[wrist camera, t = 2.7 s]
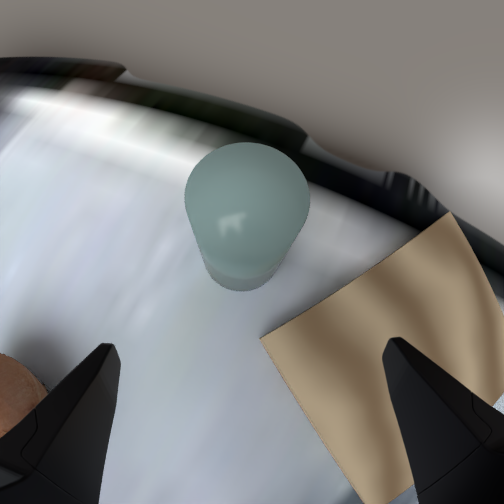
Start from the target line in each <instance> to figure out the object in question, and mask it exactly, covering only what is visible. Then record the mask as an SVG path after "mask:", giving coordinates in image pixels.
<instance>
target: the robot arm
mask: <svg viewBox="0 0 504 504" xmlns="http://www.w3.org/2000/svg"><path fill="white" fill-rule="evenodd" d="M382 362H383V367H384V371H385V376H386V381H387V386H388V391H389V395H390V399H391V402H392V406H393V409H394V412H395V415H396V419H397V422H398V425H399V429H400V432H401V435H402V439H403V442H404V446H405V450H406V453H407V457H408V461H409V464H410V468H411V472H412V476H413V480H414V484H415V488H416V493H417V498H418V502H419V504H504V414H502V413H501V412H499V411H498V410H496V409H495V408H493V407H492V406H490V405H489V404H488V403H486V402H485V401H484V400H482V399H481V398H480V397H478V396H477V395H476V394H475V393H473V392H471V390H469V389H468V388H467V387H466V386H464V385H463V384H462V383H460V382H459V381H458V380H457V379H455V378H454V377H453V376H452V375H450V374H449V373H448V372H446V371H445V370H444V369H442V368H441V367H440V366H439V365H437V364H436V363H435V362H433V361H432V360H431V359H430V358H428V357H427V356H426V355H424V354H423V353H422V352H420V351H419V350H418V349H416V348H415V347H414V346H413V345H411V344H410V343H409V342H407V341H406V340H405V339H403V338H402V337H392V338H390V339H389V340H388V342H387V344H386V347H385V349H384V351H383V354H382ZM120 368H121V362H120V358H119V356H118V353H117V350H116V348H115V346H114V344H112V343H101V344H100V345H99V346H98V347H97V348H96V349H94V350H93V351H92V352H91V353H90V354H89V355H88V356H87V357H86V358H85V359H84V360H83V361H82V362H81V363H80V364H79V365H78V366H76V367H75V368H74V369H73V370H72V371H71V372H70V373H69V374H68V375H67V376H66V377H65V378H64V379H63V380H62V381H61V382H60V383H59V384H58V385H57V386H56V387H55V388H54V389H53V390H52V391H51V392H50V393H48V394H47V395H46V396H45V397H44V398H43V399H42V400H41V401H40V402H39V403H38V404H37V405H36V406H35V408H33V409H32V410H31V411H30V412H29V413H28V414H27V415H26V416H25V417H24V418H23V419H22V420H21V421H20V422H19V423H18V424H16V425H15V426H14V427H13V428H12V429H11V430H9V431H8V432H7V433H6V434H5V435H3V436H2V437H1V438H0V504H98V503H99V496H100V489H101V483H102V476H103V470H104V464H105V459H106V453H107V448H108V443H109V438H110V433H111V428H112V423H113V418H114V414H115V409H116V402H117V393H118V384H119V376H120Z"/></svg>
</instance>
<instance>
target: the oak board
mask: <svg viewBox="0 0 504 504" xmlns="http://www.w3.org/2000/svg"><path fill="white" fill-rule="evenodd" d="M392 337H402V338H403V339H405V340H406V341H407V342H409V343H410V344H411V345H413V346H414V347H415V348H416V349H418V350H419V351H420V352H422V353H423V354H424V355H426V356H427V357H428V358H430V359H431V360H432V361H433V362H435V363H436V364H437V365H439V366H440V367H441V368H442V369H444V370H445V371H446V372H448V373H449V374H450V375H452V376H453V377H454V378H455V379H457V380H458V381H459V382H460V383H462V384H463V385H464V386H466V387H467V388H468V389H469V390H471V392H473V393H475V394H476V395H477V396H478V397H480V398H481V399H482V400H484V401H485V402H486V403H488V404H489V405H490V406H493V405H494V404H495V403H496V401H497V400H498V399H499V398H500V396H501V395H502V394H503V393H504V316H503V313H502V311H501V308H500V306H499V304H498V301H497V299H496V297H495V295H494V292H493V290H492V288H491V286H490V284H489V282H488V280H487V278H486V275H485V273H484V271H483V269H482V267H481V265H480V263H479V262H478V260H477V258H476V256H475V254H474V252H473V250H472V248H471V246H470V245H469V243H468V241H467V239H466V238H465V236H464V234H463V232H462V231H461V229H460V227H459V225H458V224H457V222H456V220H455V219H454V217H453V215H452V214H451V212H448V213H447V214H445V215H444V216H442V217H441V218H440V219H438V220H437V221H436V222H434V223H433V224H432V225H430V226H429V227H428V228H426V229H425V230H424V231H422V232H421V233H420V234H418V235H417V236H416V237H414V238H413V239H412V240H410V241H409V242H407V243H406V244H405V245H403V246H402V247H401V248H399V249H398V250H396V251H395V252H394V253H392V254H391V255H389V256H388V257H386V258H385V259H384V260H382V261H381V262H379V263H378V264H376V265H375V266H373V267H372V268H371V269H369V270H368V271H366V272H365V273H363V274H362V275H360V276H359V277H357V278H356V279H354V280H353V281H351V282H350V283H348V284H347V285H345V286H344V287H342V288H341V289H339V290H338V291H336V292H334V293H333V294H331V295H330V296H328V297H327V298H325V299H324V300H322V301H320V302H319V303H317V304H316V305H314V306H312V307H311V308H309V309H308V310H306V311H304V312H303V313H301V314H300V315H298V316H296V317H295V318H293V319H291V320H290V321H288V322H286V323H285V324H283V325H281V326H280V327H278V328H276V329H275V330H273V331H271V332H269V333H268V334H266V335H264V336H263V337H261V338H259V339H260V341H261V343H262V344H263V346H264V348H265V349H266V351H267V353H268V354H269V356H270V358H271V359H272V361H273V363H274V364H275V366H276V368H277V369H278V371H279V373H280V374H281V376H282V378H283V379H284V381H285V382H286V384H287V386H288V387H289V389H290V391H291V392H292V394H293V395H294V397H295V399H296V400H297V402H298V404H299V405H300V407H301V408H302V410H303V412H304V413H305V415H306V416H307V418H308V419H309V421H310V423H311V424H312V426H313V427H314V429H315V430H316V432H317V434H318V435H319V437H320V438H321V440H322V441H323V443H324V444H325V446H326V448H327V449H328V451H329V452H330V454H331V455H332V457H333V458H334V460H335V461H336V463H337V464H338V466H339V467H340V469H341V470H342V472H343V473H344V475H345V476H346V478H347V479H348V481H349V482H350V484H351V485H352V487H353V488H354V490H355V491H356V493H357V494H358V496H359V497H360V499H361V500H362V502H363V503H364V504H388V503H389V502H391V501H392V500H393V499H395V498H396V497H397V496H399V495H400V494H401V493H403V492H404V491H405V490H407V489H408V488H409V487H410V486H412V485H413V484H414V480H413V476H412V472H411V468H410V464H409V461H408V457H407V453H406V450H405V446H404V442H403V439H402V435H401V432H400V429H399V425H398V422H397V419H396V415H395V412H394V409H393V406H392V402H391V399H390V395H389V391H388V386H387V381H386V376H385V371H384V367H383V362H382V354H383V351H384V349H385V347H386V344H387V342H388V340H389V339H390V338H392Z"/></svg>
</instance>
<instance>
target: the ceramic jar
mask: <svg viewBox="0 0 504 504" xmlns="http://www.w3.org/2000/svg"><path fill="white" fill-rule="evenodd" d="M185 207H186V211H187V215H188V218H189V221H190V224H191V227H192V229H193V232H194V235H195V238H196V241H197V244H198V247H199V249H200V252H201V255H202V258H203V261H204V263H205V266H206V269H207V271H208V273H209V274H210V276H211V277H212V278H213V279H214V280H215V281H216V282H217V283H218V284H219V285H221V286H223V287H225V288H227V289H230V290H233V291H250V290H254V289H256V288H259V287H261V286H262V285H264V284H265V283H266V282H267V281H268V280H269V279H270V278H271V277H272V276H273V274H274V273H275V271H276V269H277V268H278V266H279V264H280V263H281V261H282V260H283V258H284V256H285V255H286V253H287V251H288V250H289V248H290V247H291V245H292V243H293V242H294V240H295V238H296V237H297V235H298V233H299V232H300V230H301V228H302V227H303V225H304V223H305V221H306V219H307V216H308V212H309V207H310V193H309V188H308V184H307V181H306V179H305V177H304V175H303V173H302V172H301V170H300V169H299V167H298V166H297V165H296V164H295V163H294V162H293V161H292V160H291V159H290V158H289V157H288V156H286V155H285V154H283V153H282V152H280V151H278V150H276V149H274V148H272V147H269V146H266V145H263V144H257V143H235V144H230V145H226V146H223V147H221V148H218V149H216V150H214V151H212V152H211V153H209V154H208V155H206V156H205V157H204V158H203V159H202V160H201V161H200V162H199V163H198V164H197V165H196V166H195V168H194V169H193V171H192V172H191V174H190V176H189V178H188V181H187V184H186V189H185Z"/></svg>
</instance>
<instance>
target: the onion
mask: <svg viewBox="0 0 504 504" xmlns="http://www.w3.org/2000/svg"><path fill="white" fill-rule="evenodd" d="M47 394H48V392H47V389H46V387H45V385H44V383H43V385H42V384H41V383H40V382H39V380H38V379H37V378H36V377H35V376H34V375H33V374H32V373H31V372H30V371H29V370H28V369H27V368H26V367H25V366H24V365H22V364H21V363H19V362H18V361H16V360H15V359H13V358H11V357H9V356H6V355H5V354H1V353H0V438H1V437H2V436H3V435H5V434H6V433H7V432H8V431H9V430H11V429H12V428H13V427H14V426H15V425H16V424H18V423H19V422H20V421H21V420H22V419H23V418H24V417H25V416H26V415H27V414H28V413H29V412H30V411H31V410H32V409H33V408H35V406H36V405H37V404H38V403H39V402H40V401H41V400H42V399H43V398H44V397H45V396H46V395H47Z"/></svg>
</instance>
